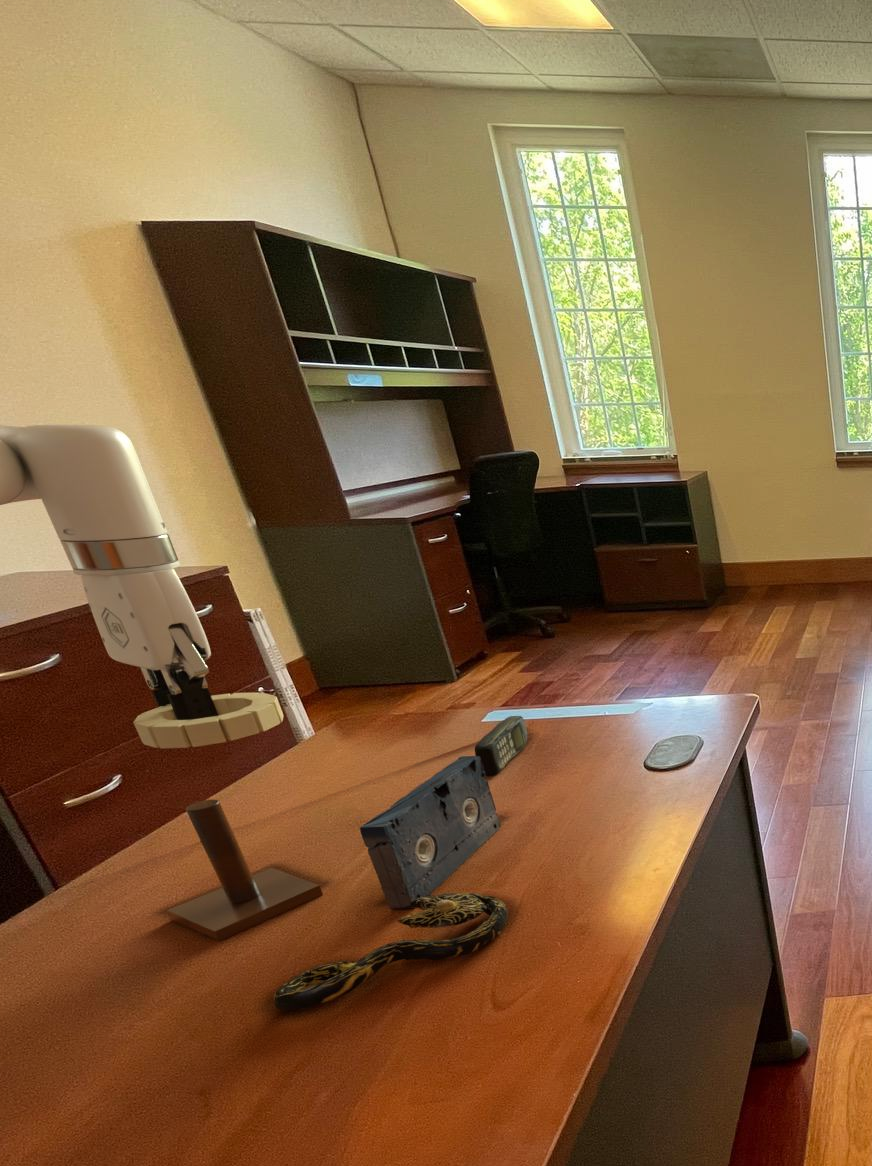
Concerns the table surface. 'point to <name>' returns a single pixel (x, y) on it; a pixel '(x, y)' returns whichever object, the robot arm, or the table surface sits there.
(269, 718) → the cream segmented ring
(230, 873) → the post
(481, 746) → the mobile phone
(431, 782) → the vhs cassette tape
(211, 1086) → the table surface
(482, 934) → the rubber snake
